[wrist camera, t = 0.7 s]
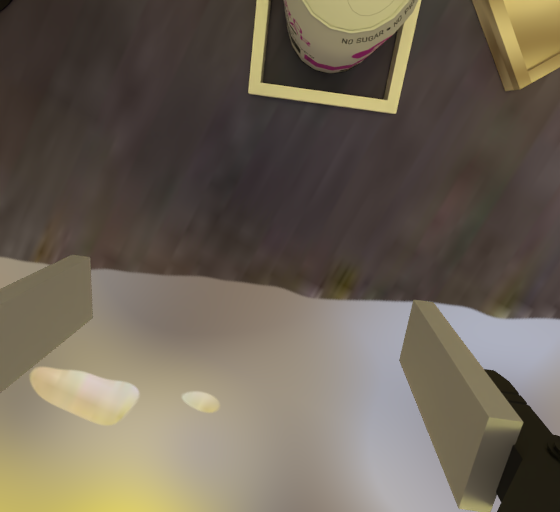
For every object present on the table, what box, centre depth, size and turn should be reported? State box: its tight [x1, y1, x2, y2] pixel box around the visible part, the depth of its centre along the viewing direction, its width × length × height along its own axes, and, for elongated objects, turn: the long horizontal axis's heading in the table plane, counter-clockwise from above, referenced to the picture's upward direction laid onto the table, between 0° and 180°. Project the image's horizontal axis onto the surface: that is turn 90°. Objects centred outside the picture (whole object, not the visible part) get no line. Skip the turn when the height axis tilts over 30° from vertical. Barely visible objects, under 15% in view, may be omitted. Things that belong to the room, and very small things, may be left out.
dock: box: [248, 0, 421, 114], centre depth 31 cm, size 14×14×6 cm
